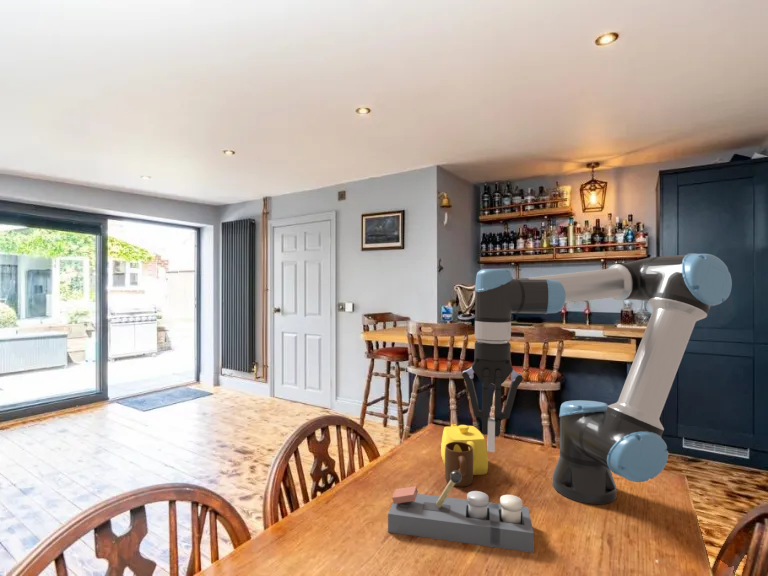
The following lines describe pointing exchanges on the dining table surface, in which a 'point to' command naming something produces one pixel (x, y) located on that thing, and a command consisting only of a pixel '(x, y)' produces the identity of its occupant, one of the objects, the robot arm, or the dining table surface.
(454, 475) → the lever
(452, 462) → the mug
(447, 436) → the teapot
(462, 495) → the dining table surface
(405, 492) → the rocker
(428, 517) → the console
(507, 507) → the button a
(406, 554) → the dining table surface
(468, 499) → the button
